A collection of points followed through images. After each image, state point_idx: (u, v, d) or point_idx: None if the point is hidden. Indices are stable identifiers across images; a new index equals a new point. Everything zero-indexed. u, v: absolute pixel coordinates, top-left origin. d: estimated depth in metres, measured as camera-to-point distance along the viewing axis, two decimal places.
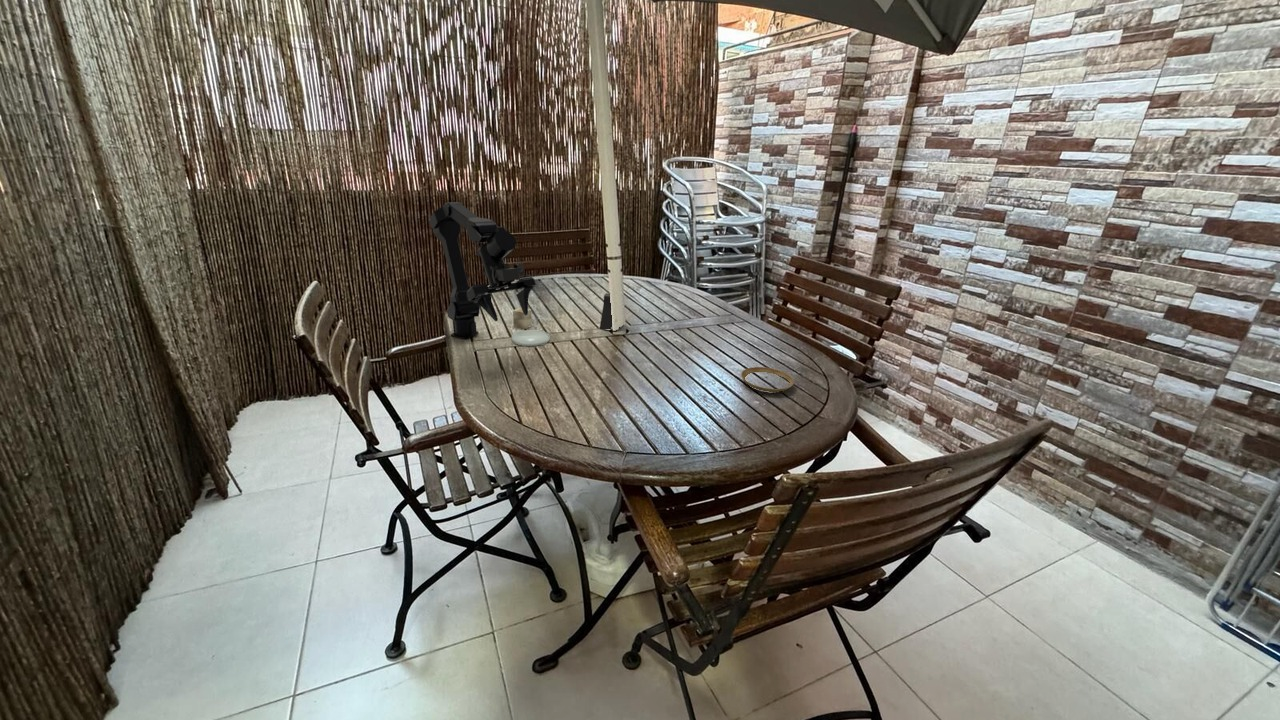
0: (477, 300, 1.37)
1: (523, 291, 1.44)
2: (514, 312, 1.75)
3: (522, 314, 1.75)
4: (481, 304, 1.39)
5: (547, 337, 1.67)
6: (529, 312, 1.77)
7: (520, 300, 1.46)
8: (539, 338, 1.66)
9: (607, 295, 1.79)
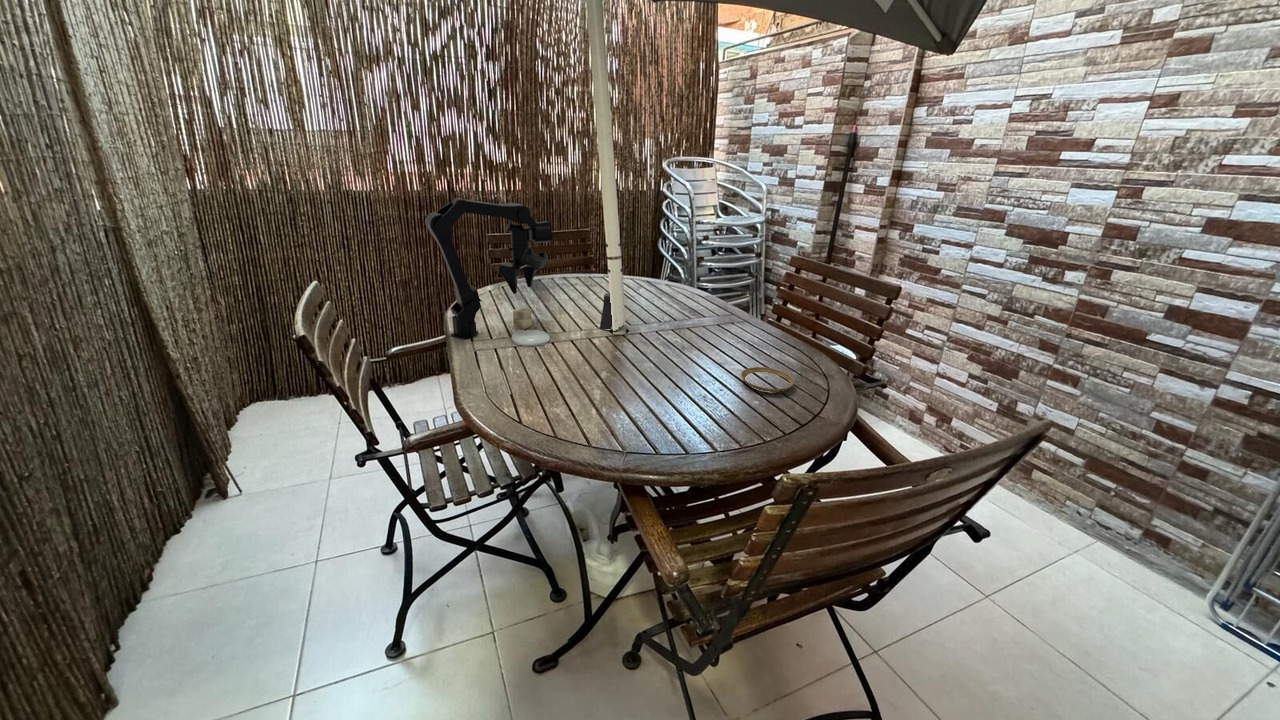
0: (507, 276, 1.64)
1: (533, 269, 1.75)
2: (514, 312, 1.75)
3: (522, 314, 1.75)
4: (505, 277, 1.66)
5: (547, 337, 1.67)
6: (529, 312, 1.77)
7: (526, 273, 1.76)
8: (539, 338, 1.66)
9: (607, 295, 1.79)
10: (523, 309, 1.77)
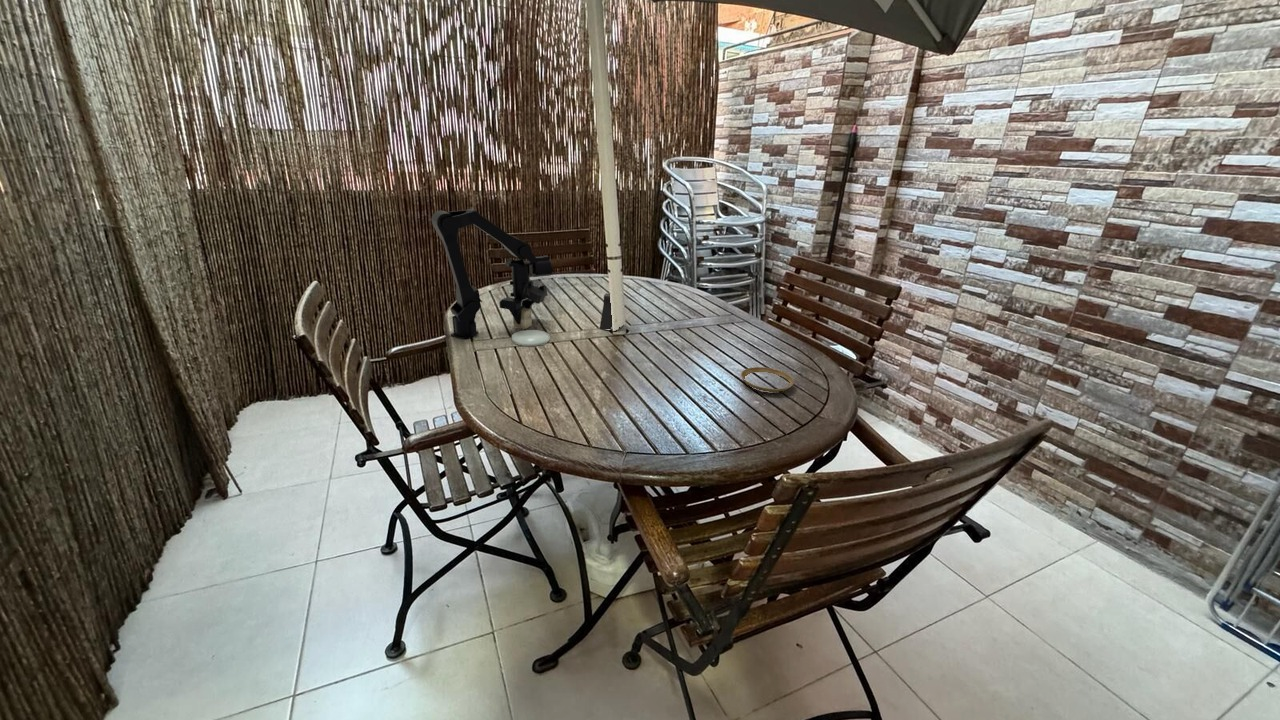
0: None
1: (530, 303, 1.78)
2: None
3: (522, 314, 1.74)
4: None
5: (547, 337, 1.67)
6: (529, 312, 1.77)
7: None
8: (539, 338, 1.66)
9: (607, 295, 1.79)
10: (523, 309, 1.77)
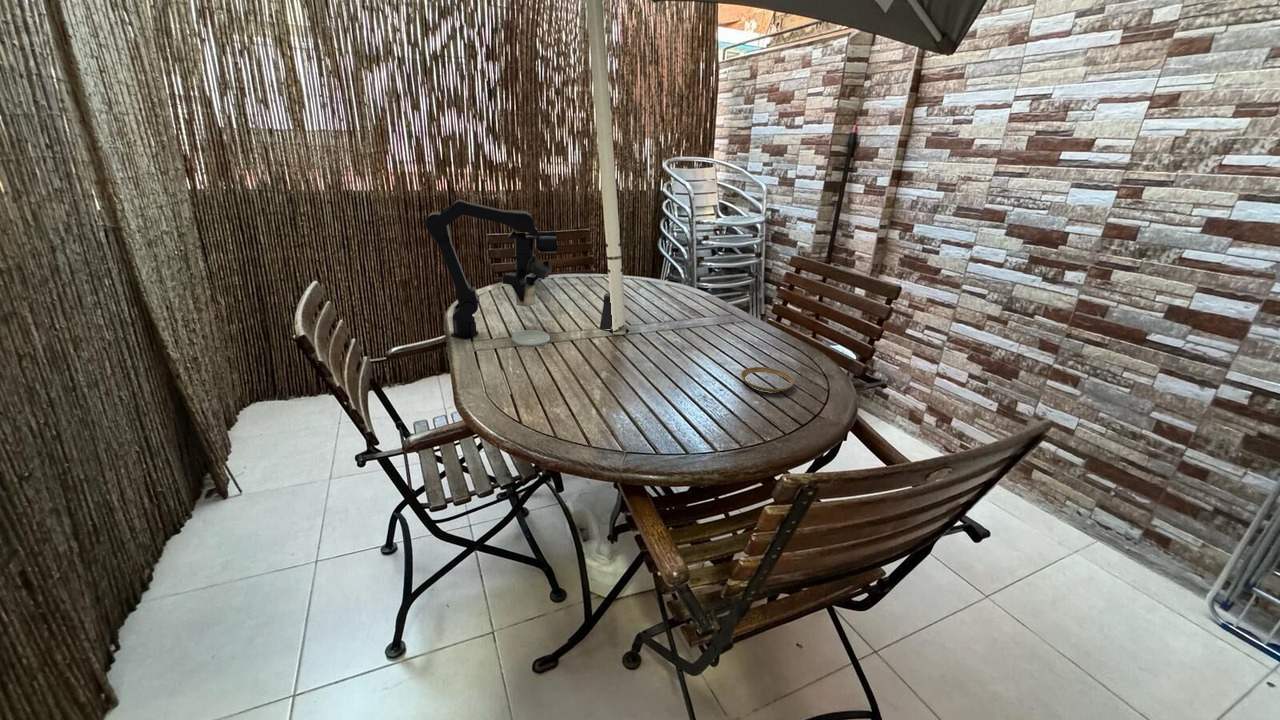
0: None
1: (534, 279, 1.69)
2: None
3: (526, 291, 1.65)
4: (513, 285, 1.63)
5: (547, 337, 1.67)
6: (533, 289, 1.68)
7: None
8: (539, 338, 1.66)
9: (607, 295, 1.79)
10: (526, 286, 1.68)
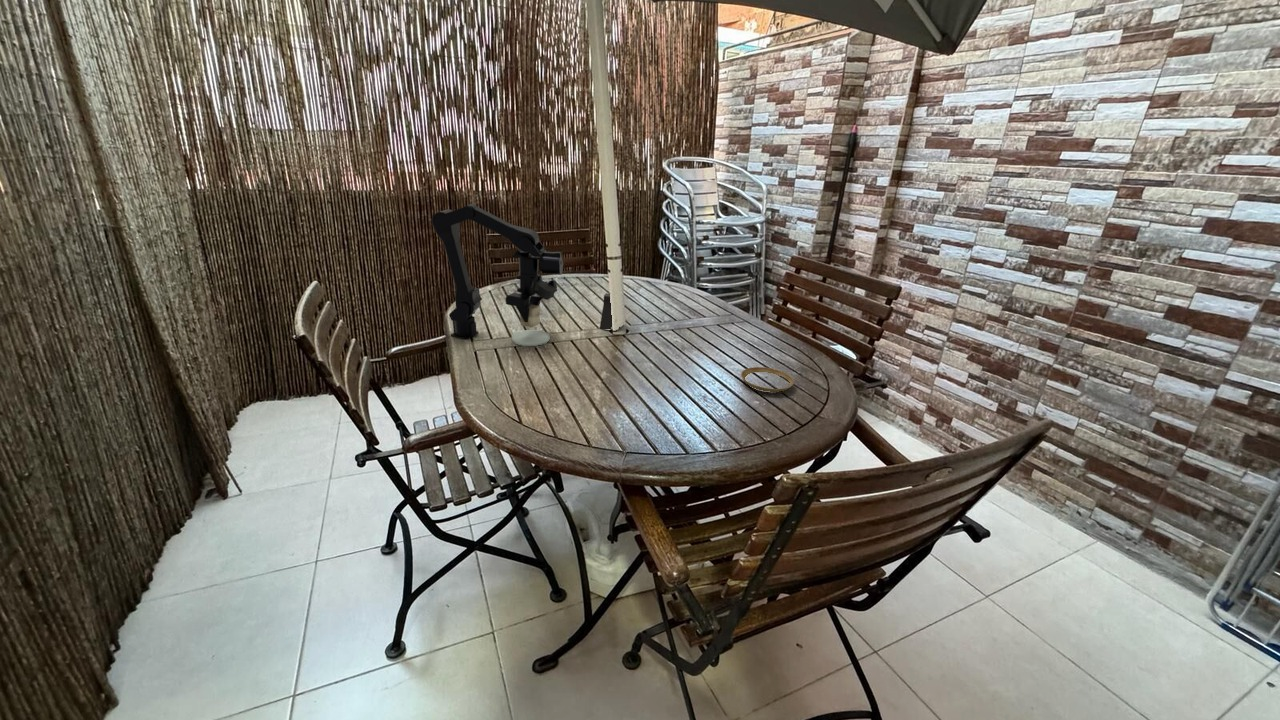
0: None
1: (539, 299, 1.65)
2: None
3: (530, 311, 1.61)
4: (517, 305, 1.60)
5: (547, 337, 1.67)
6: (537, 309, 1.64)
7: (531, 303, 1.66)
8: (539, 338, 1.66)
9: (607, 295, 1.79)
10: (531, 306, 1.64)
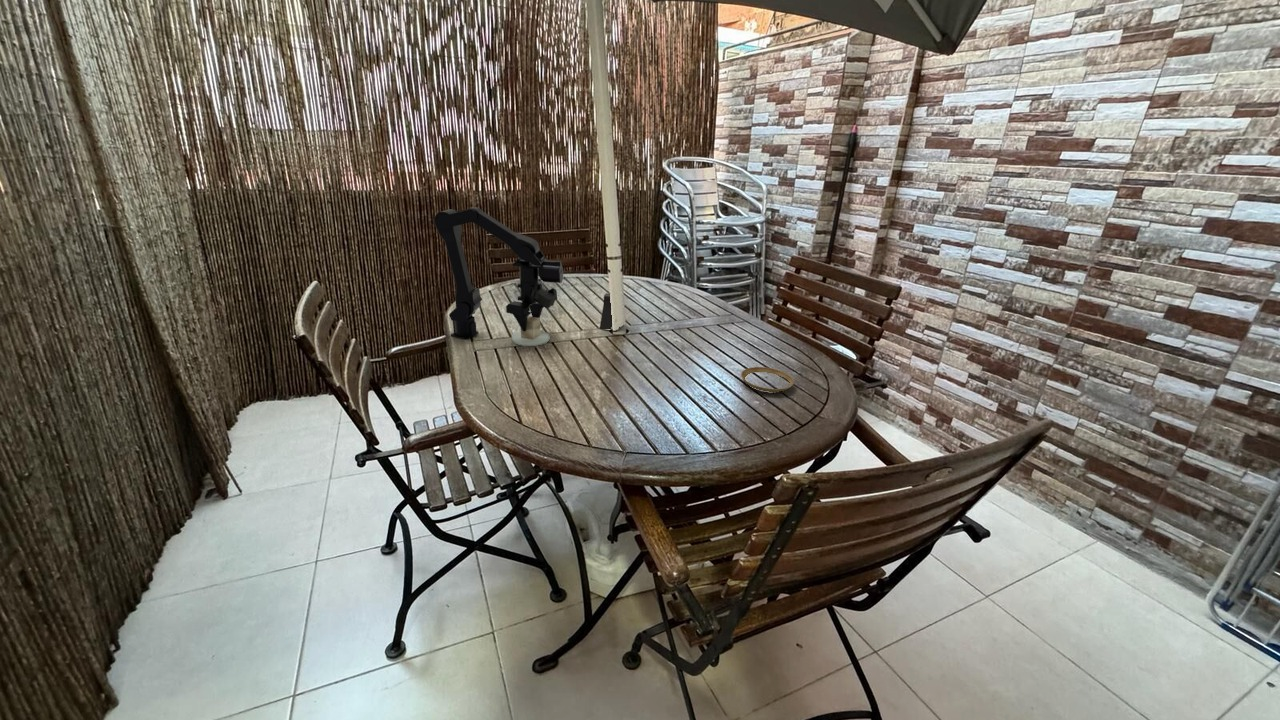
0: None
1: (541, 306, 1.67)
2: None
3: (530, 323, 1.63)
4: (515, 315, 1.59)
5: (547, 337, 1.67)
6: (538, 321, 1.65)
7: (533, 310, 1.68)
8: (539, 338, 1.66)
9: (607, 295, 1.79)
10: (531, 318, 1.65)
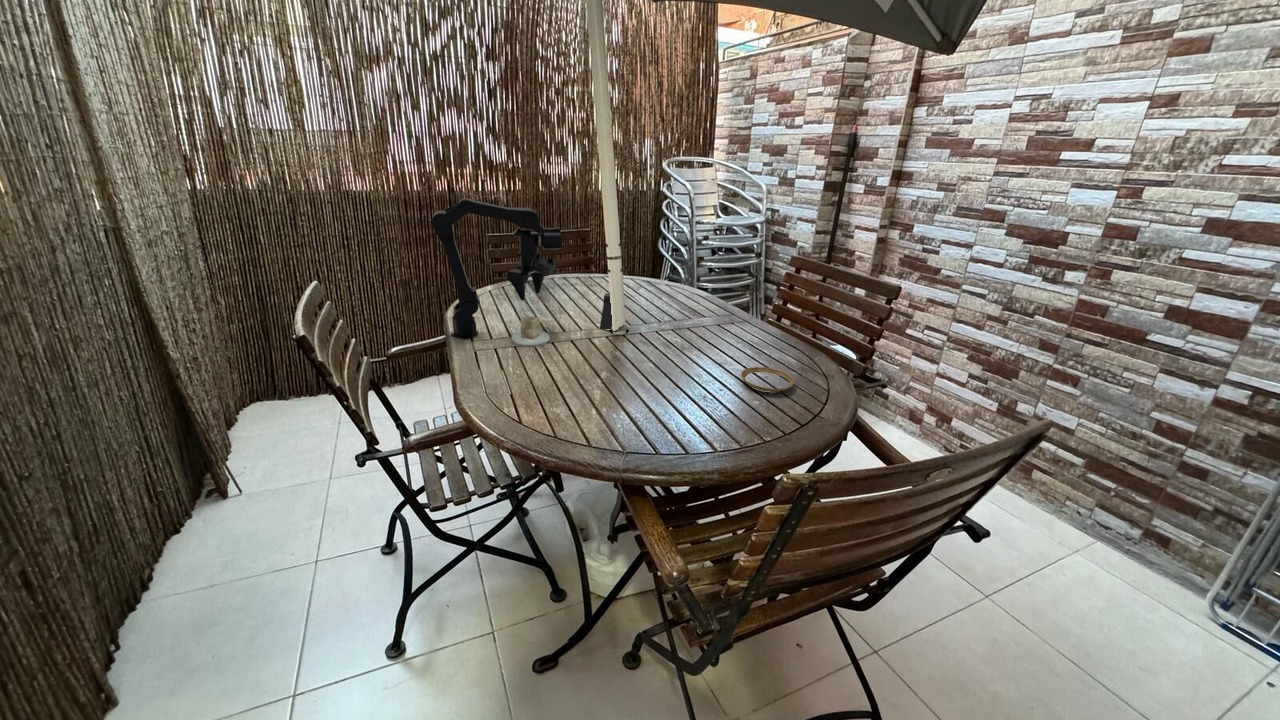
0: (515, 282, 1.60)
1: (542, 275, 1.71)
2: (522, 321, 1.64)
3: (530, 323, 1.63)
4: (513, 283, 1.63)
5: (547, 337, 1.67)
6: (538, 321, 1.65)
7: (535, 279, 1.73)
8: (539, 338, 1.66)
9: (607, 295, 1.79)
10: (531, 318, 1.65)
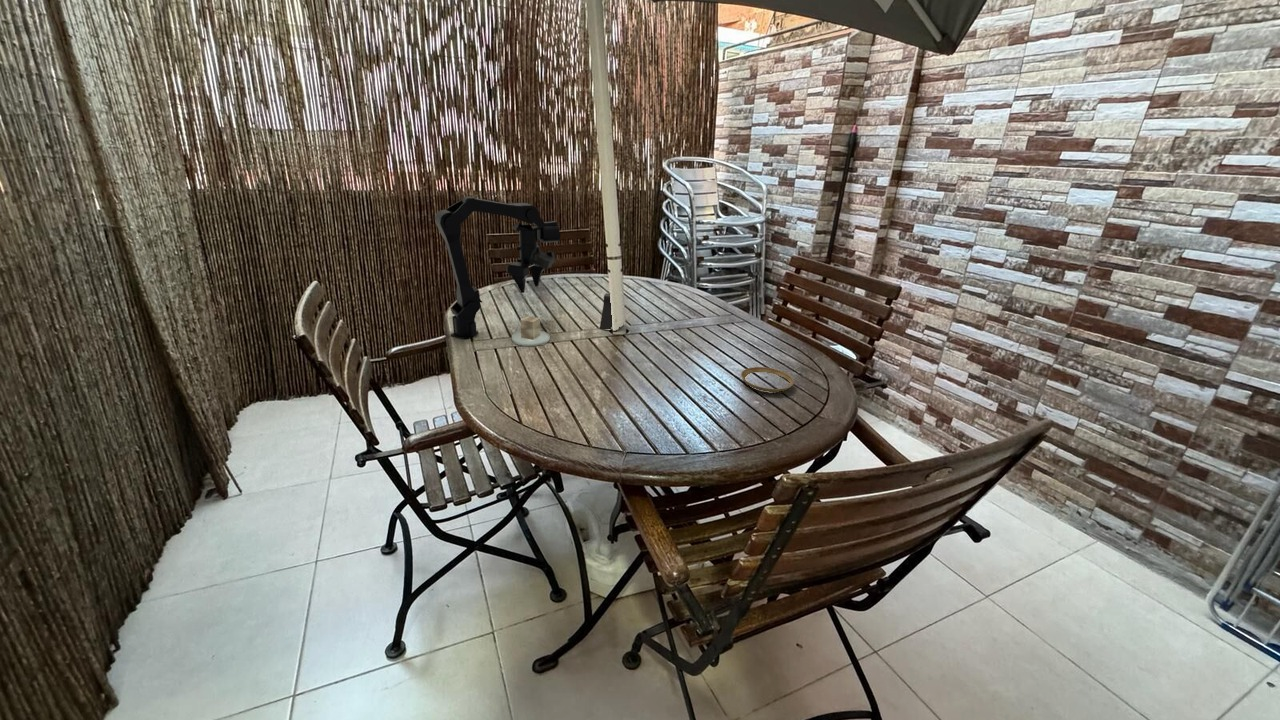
0: (516, 275, 1.65)
1: (541, 268, 1.76)
2: (522, 321, 1.64)
3: (530, 323, 1.63)
4: (514, 276, 1.68)
5: (547, 337, 1.67)
6: (538, 321, 1.65)
7: (533, 272, 1.78)
8: (539, 338, 1.66)
9: (607, 295, 1.79)
10: (531, 318, 1.65)
